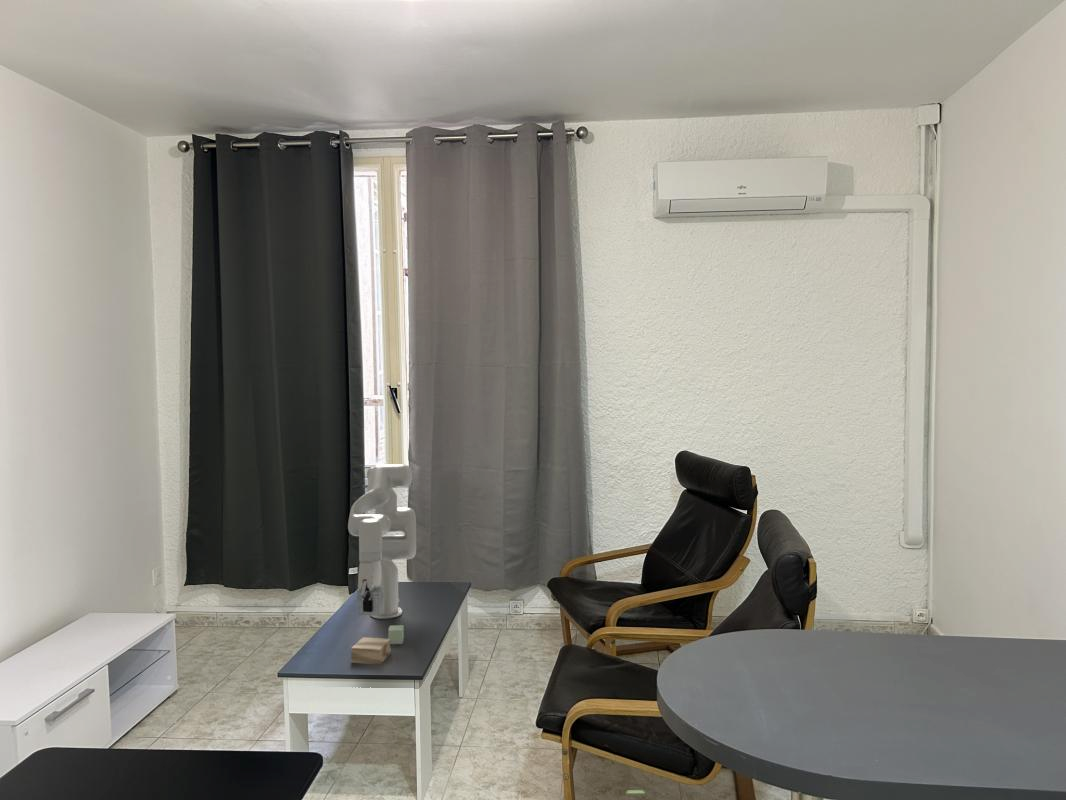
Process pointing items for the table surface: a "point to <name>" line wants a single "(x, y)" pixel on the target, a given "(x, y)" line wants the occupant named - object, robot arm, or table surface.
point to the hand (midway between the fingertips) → (370, 608)
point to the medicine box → (377, 602)
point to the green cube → (396, 634)
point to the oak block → (370, 650)
